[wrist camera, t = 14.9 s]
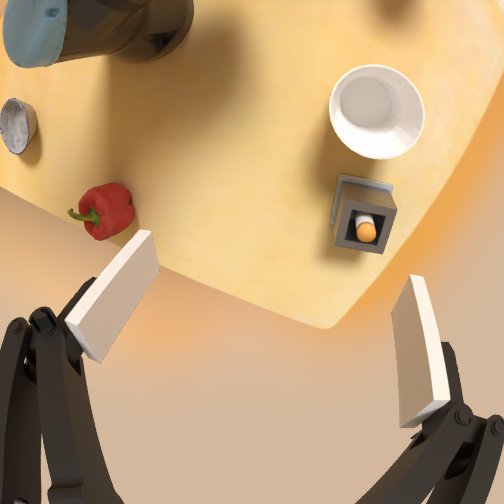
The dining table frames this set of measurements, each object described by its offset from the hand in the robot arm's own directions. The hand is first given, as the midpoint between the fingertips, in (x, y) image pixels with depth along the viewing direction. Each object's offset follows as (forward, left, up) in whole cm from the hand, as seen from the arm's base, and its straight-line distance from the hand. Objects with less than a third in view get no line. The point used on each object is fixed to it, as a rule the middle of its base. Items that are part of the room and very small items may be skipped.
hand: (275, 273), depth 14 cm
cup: (+7, +6, -29) cm, 30 cm away
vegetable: (-33, -14, -29) cm, 46 cm away
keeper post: (+9, -9, -29) cm, 31 cm away
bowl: (-58, +4, -29) cm, 65 cm away
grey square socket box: (+9, -9, -28) cm, 31 cm away
